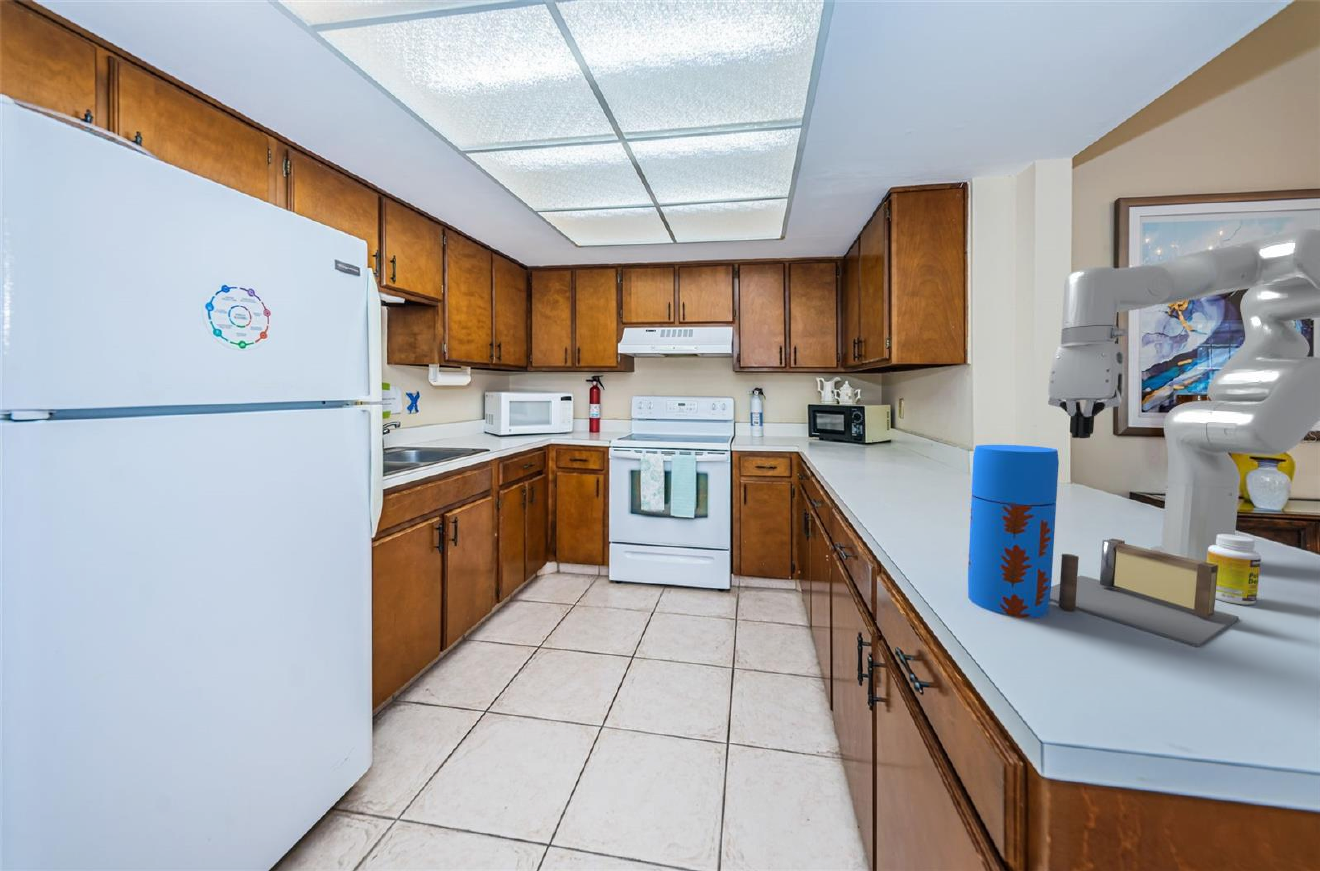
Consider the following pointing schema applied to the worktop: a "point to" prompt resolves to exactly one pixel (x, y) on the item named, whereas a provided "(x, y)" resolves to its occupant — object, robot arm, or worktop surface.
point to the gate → (1160, 576)
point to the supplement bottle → (1235, 568)
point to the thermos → (1012, 529)
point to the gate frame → (1134, 607)
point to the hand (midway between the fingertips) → (1081, 437)
